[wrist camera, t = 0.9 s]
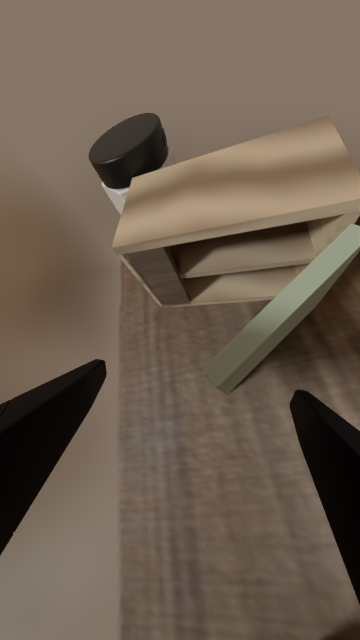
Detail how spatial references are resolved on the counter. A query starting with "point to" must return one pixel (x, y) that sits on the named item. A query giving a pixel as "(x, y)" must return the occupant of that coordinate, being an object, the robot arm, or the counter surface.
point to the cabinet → (239, 217)
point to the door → (282, 313)
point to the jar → (130, 154)
